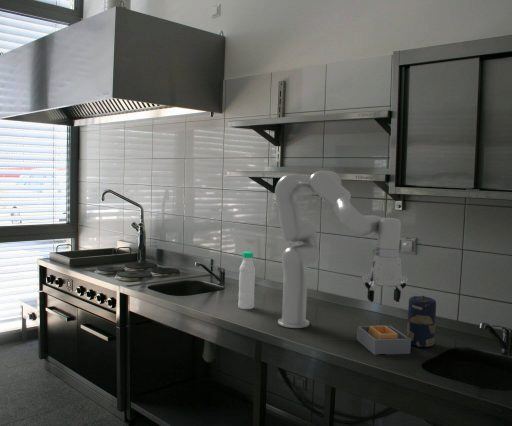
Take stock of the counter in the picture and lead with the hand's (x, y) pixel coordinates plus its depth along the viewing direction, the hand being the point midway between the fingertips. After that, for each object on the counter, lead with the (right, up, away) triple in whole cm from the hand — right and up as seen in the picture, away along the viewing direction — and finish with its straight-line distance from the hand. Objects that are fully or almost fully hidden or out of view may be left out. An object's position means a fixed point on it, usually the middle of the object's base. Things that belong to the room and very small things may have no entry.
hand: (383, 300), depth 182 cm
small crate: (0, -15, +1) cm, 15 cm away
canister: (+14, -17, +5) cm, 23 cm away
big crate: (0, -16, +1) cm, 16 cm away
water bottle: (-50, -11, +47) cm, 69 cm away
